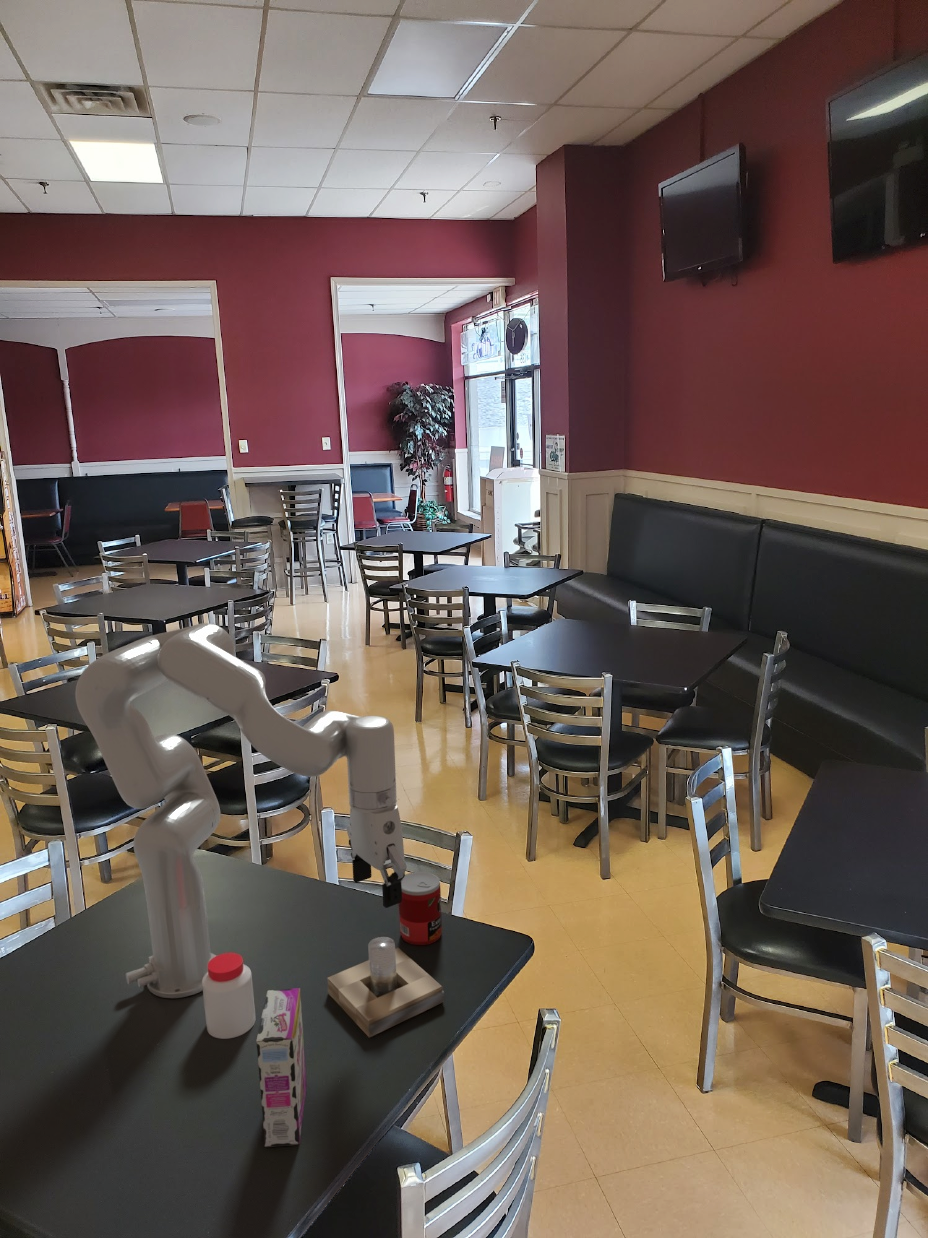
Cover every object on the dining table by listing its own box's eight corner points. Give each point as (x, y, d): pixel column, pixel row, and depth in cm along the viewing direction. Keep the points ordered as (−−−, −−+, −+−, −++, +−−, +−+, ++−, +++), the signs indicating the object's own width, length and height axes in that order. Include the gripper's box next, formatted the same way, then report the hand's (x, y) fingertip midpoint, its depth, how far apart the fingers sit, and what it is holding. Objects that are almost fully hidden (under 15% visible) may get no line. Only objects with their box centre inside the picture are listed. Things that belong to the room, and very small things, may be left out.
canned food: (437, 948, 161) (434, 893, 159) (395, 944, 163) (392, 890, 161) (446, 925, 169) (444, 872, 166) (406, 922, 170) (403, 870, 168)
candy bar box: (302, 1146, 118) (292, 1039, 114) (264, 1149, 118) (253, 1042, 114) (309, 1085, 129) (301, 986, 125) (274, 1088, 128) (265, 988, 125)
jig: (371, 1039, 138) (370, 1023, 137) (328, 993, 150) (327, 977, 149) (444, 1004, 146) (444, 988, 145) (398, 962, 157) (398, 947, 157)
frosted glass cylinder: (379, 1009, 145) (376, 955, 143) (366, 996, 148) (363, 943, 146) (402, 999, 147) (399, 945, 145) (389, 986, 151) (386, 934, 149)
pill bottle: (212, 1045, 138) (205, 983, 135) (202, 1017, 145) (195, 957, 142) (261, 1029, 141) (255, 968, 139) (249, 1002, 148) (243, 943, 146)
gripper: (422, 806, 135) (425, 907, 139) (366, 771, 149) (370, 864, 153) (379, 819, 131) (384, 923, 135) (326, 783, 145) (332, 877, 148)
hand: (377, 891), depth 144 cm, fingers open, 9 cm apart
